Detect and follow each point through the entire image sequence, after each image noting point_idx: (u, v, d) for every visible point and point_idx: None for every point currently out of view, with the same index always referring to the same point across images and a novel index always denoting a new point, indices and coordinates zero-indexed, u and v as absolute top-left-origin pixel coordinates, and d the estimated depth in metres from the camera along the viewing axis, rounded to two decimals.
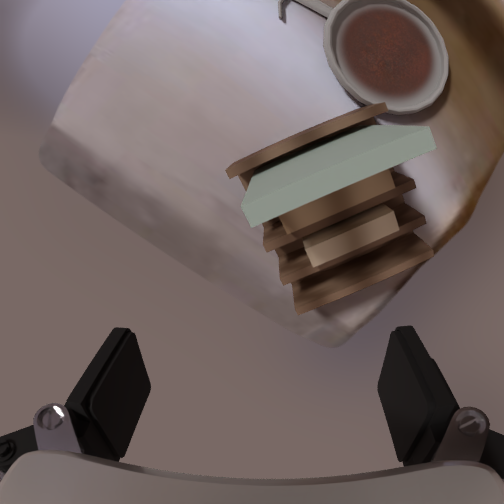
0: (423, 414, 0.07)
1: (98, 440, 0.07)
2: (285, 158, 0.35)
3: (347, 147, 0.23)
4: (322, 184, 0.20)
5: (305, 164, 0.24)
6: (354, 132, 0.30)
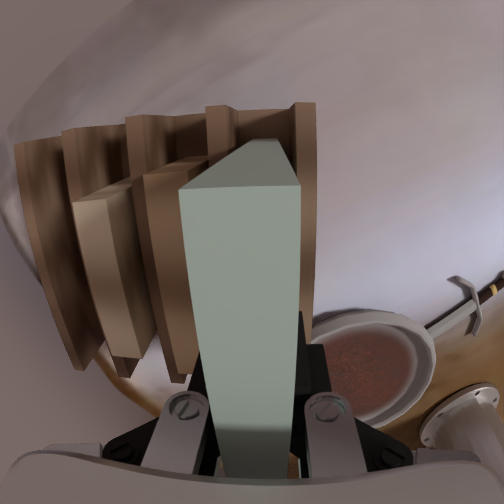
0: None
1: None
2: None
3: None
4: (252, 442, 0.06)
5: None
6: None
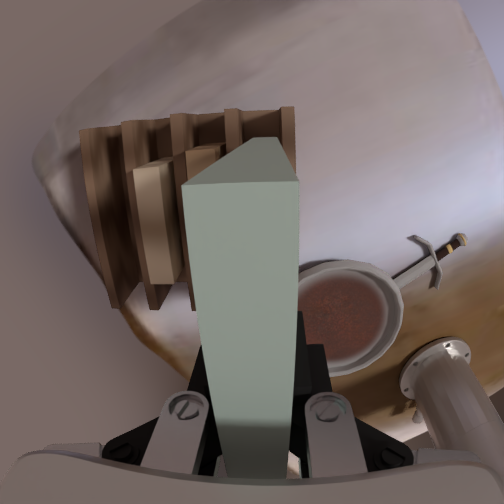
0: None
1: None
2: None
3: None
4: (252, 434, 0.06)
5: None
6: None
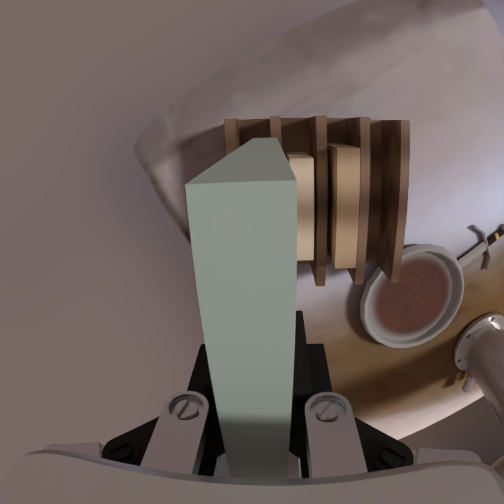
0: None
1: None
2: None
3: None
4: (253, 428, 0.07)
5: None
6: None
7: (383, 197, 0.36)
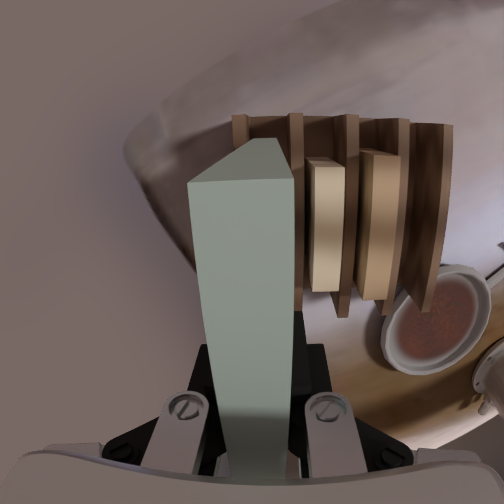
0: None
1: None
2: None
3: None
4: (253, 421, 0.07)
5: None
6: None
7: (414, 213, 0.30)
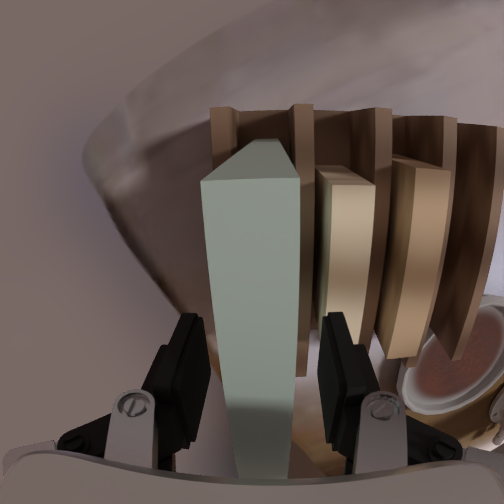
0: (336, 394, 0.08)
1: (178, 424, 0.08)
2: None
3: None
4: (258, 411, 0.07)
5: None
6: None
7: (448, 237, 0.23)
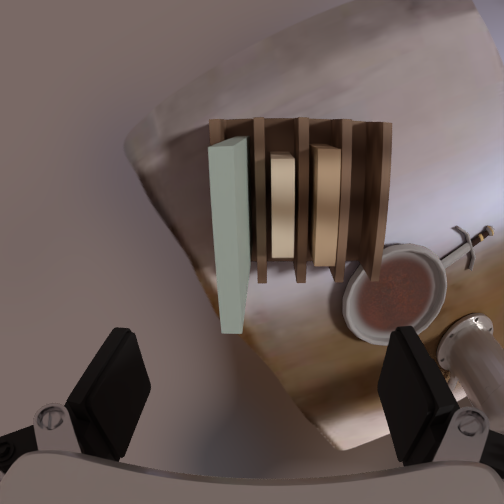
0: (423, 414, 0.07)
1: (98, 440, 0.07)
2: (249, 171, 0.35)
3: (243, 248, 0.27)
4: (224, 227, 0.21)
5: (242, 205, 0.26)
6: None
7: (365, 197, 0.37)
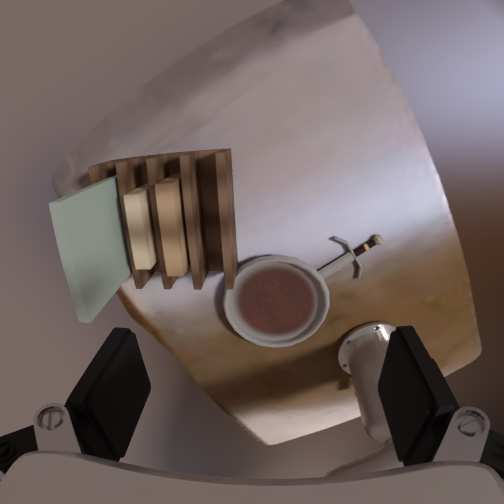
0: (423, 414, 0.07)
1: (98, 440, 0.07)
2: None
3: (97, 263, 0.35)
4: (64, 252, 0.29)
5: (93, 233, 0.34)
6: (127, 259, 0.43)
7: None
